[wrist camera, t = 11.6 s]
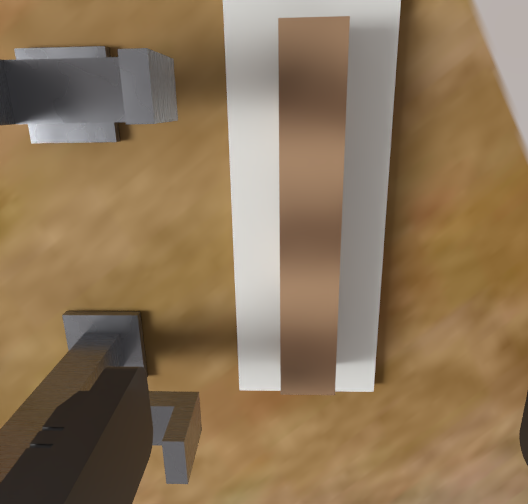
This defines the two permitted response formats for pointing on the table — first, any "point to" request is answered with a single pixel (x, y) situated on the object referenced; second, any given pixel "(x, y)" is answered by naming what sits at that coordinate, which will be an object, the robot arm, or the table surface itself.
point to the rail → (311, 197)
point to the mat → (267, 180)
